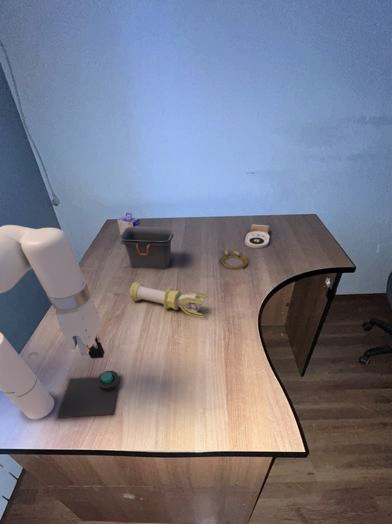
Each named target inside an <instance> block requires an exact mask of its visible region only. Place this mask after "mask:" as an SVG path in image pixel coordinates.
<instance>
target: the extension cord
mask: <svg viewBox="0 0 392 524" xmlns="http://www.w3.org/2000/svg"><path fill="white" fill-rule="evenodd" d="M231 254H233V255H229V250H228V249H224V255H225V257H223V258H222V259H221V262H222V265H224V266H225V267H226V268H228V269H233V270H240V269H243V268H245V267H247V265H248V260H247V259H246V258H245V257H244V256H243V255H241V252H239V251H237V249H233V250H232V252H231ZM231 257H233V258H237V257H238V259H240V260H242V261H244V263H245V264H243V265H241V266H238V267H232V266H229V265H227V264H225V262H224V260H226V259H228V258H231Z"/></svg>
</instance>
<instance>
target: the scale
mask: <svg viewBox="0 0 392 524" xmlns="http://www.w3.org/2000/svg"><path fill="white" fill-rule="evenodd" d="M105 372H110V373H111V374H112V376H113V381H112V382H111V383H109V384H104V383H103V381H102V379H101V376H102V374H104V373H105ZM120 382H121V377H120V376H119V374H118V372H116V371H115V370H105V371H102V372H101V373H100V374H99V375H98V377H97V376H96V377H82V378H70V379H69V382H68V384H67V388H66V390H65V393H64V396H63V399H62V402H61V405H60V408H59V411H58V414H57V418H58V419H72V418H86V417H87V418H88V417H102V416H114V412H115V407H116V401H117V395H118V390H119V385H120Z"/></svg>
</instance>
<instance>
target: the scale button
mask: <svg viewBox="0 0 392 524" xmlns="http://www.w3.org/2000/svg"><path fill="white" fill-rule="evenodd" d="M104 372H105V371H104ZM101 379H102V381H103V383H104V384H109V383H111V382H112V381H113V376H112V374H111V373H110V372H105V373H104V374H102V376H101Z"/></svg>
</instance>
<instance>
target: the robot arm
mask: <svg viewBox="0 0 392 524" xmlns="http://www.w3.org/2000/svg"><path fill="white" fill-rule="evenodd" d="M31 270H33V272H34V274H35V276H36V278H37V280H38V281H39V284H40V285H41V287H42V289H43V290H44V292H45V294H46V296H47V298H48V300H49V302H50V303H51V306H52V307H53V308H54V310H55V316H56V319H57V322H58V323H57V324H58V326H59V328H60V330H61V332H62V335H63V337H64V339H65V341H66V343H67V345H68V347H69V348H70V349H71V350H76V347H78V350H79V352H80V355H81V356H87V355H88V356H89V358H90V359H103V358H104V356H105V353H106V352H105V349H104V347H103V345H102V343H101V339H100V335H99V327H100V323H101V319H100V315H99V312H98V310H97V307H96V305H95V303H94V301H93V299H92V294H91V292H90V289H89V287H88V285H87V282H86V279H85V277H84V274H83V272H82V269H81V267H80V264H79V261H78V259H77V257H76V253H75V251H74V249H73V247H72V244H71V241H70V239H69V237H68V235H67V233H65V231H63V230H62V229H60V228H57V227H41V228H31V227H27V226H21V225H16V224H5V225H1V226H0V294H3V293H7V292H8V291H10V290H11V289H13V287H15V286H16V284H18V283H19V281H20V280H21V279H22V278H23V277H24V276H25V275H26V274H27V272H29V271H31Z"/></svg>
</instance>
